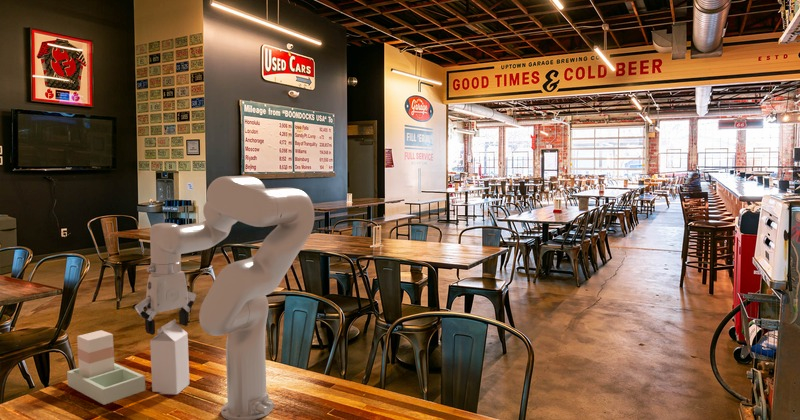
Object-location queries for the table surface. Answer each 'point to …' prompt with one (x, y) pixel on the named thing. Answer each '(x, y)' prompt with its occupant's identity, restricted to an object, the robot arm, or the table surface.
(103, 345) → the oat carton
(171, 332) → the milk carton
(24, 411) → the table surface
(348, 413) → the table surface
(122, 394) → the crate
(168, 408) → the table surface
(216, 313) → the robot arm
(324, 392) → the table surface
